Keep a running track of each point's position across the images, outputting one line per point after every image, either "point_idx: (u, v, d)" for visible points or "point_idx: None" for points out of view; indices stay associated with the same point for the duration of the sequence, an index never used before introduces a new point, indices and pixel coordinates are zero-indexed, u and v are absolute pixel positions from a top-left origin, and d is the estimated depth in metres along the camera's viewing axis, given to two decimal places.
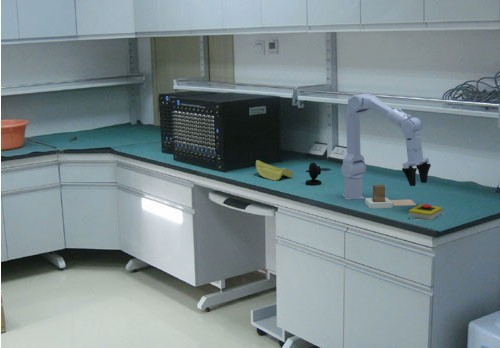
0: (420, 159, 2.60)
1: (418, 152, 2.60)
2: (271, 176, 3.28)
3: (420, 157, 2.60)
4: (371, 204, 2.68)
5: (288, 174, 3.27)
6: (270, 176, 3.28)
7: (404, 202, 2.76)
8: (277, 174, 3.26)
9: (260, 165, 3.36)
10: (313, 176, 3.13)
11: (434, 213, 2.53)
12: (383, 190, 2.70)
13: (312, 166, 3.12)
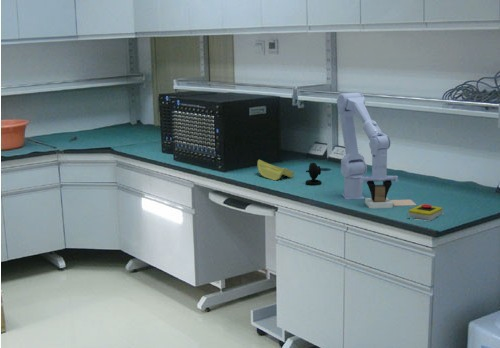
0: (378, 177, 2.68)
1: (377, 170, 2.67)
2: (271, 176, 3.28)
3: (379, 175, 2.67)
4: (371, 204, 2.68)
5: (288, 174, 3.27)
6: (270, 176, 3.29)
7: (404, 202, 2.76)
8: (277, 174, 3.26)
9: (261, 165, 3.37)
10: (313, 176, 3.13)
11: (434, 213, 2.53)
12: (383, 190, 2.70)
13: (312, 166, 3.12)
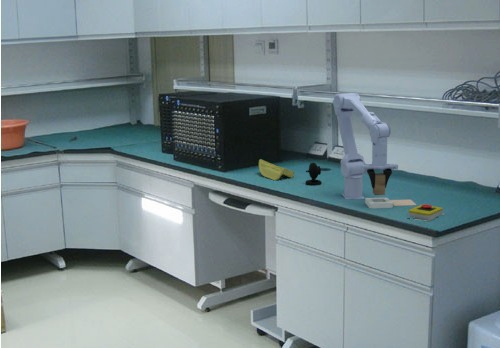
0: (379, 165, 2.67)
1: (377, 158, 2.66)
2: (271, 175, 3.29)
3: (379, 163, 2.67)
4: (371, 204, 2.68)
5: (288, 174, 3.27)
6: (270, 175, 3.29)
7: (404, 202, 2.76)
8: (277, 174, 3.27)
9: (263, 164, 3.37)
10: (313, 176, 3.13)
11: (433, 213, 2.53)
12: (383, 178, 2.69)
13: (312, 166, 3.12)
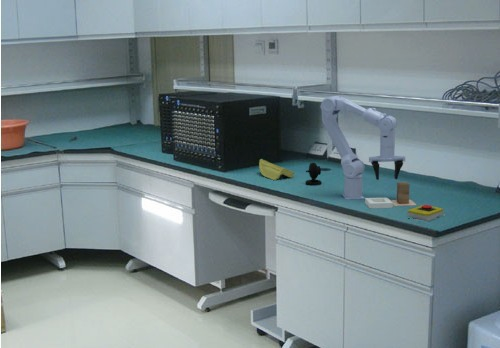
0: (386, 157, 2.74)
1: (385, 150, 2.74)
2: (271, 175, 3.29)
3: (387, 155, 2.74)
4: (371, 204, 2.68)
5: (288, 174, 3.28)
6: (270, 175, 3.30)
7: None
8: (276, 174, 3.27)
9: (263, 164, 3.38)
10: (313, 176, 3.13)
11: (432, 214, 2.52)
12: (407, 187, 2.73)
13: (312, 166, 3.12)
